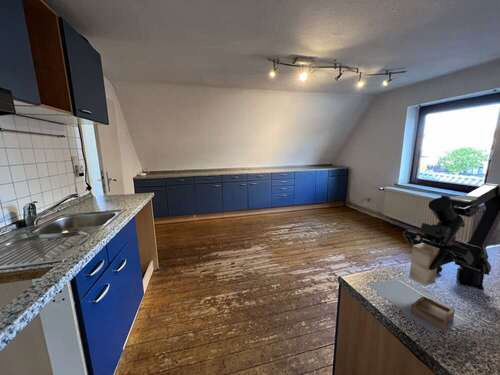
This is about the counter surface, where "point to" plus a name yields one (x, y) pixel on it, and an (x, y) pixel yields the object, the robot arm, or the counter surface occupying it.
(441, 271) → the tape measure
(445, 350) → the counter surface
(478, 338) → the counter surface
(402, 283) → the board
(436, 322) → the walnut block
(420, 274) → the beech column
